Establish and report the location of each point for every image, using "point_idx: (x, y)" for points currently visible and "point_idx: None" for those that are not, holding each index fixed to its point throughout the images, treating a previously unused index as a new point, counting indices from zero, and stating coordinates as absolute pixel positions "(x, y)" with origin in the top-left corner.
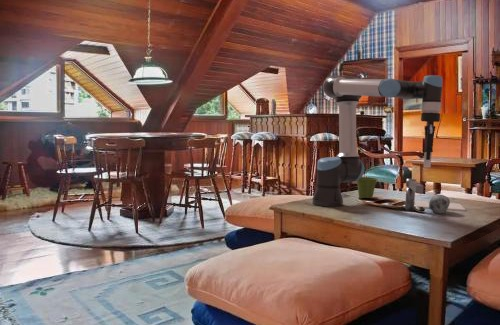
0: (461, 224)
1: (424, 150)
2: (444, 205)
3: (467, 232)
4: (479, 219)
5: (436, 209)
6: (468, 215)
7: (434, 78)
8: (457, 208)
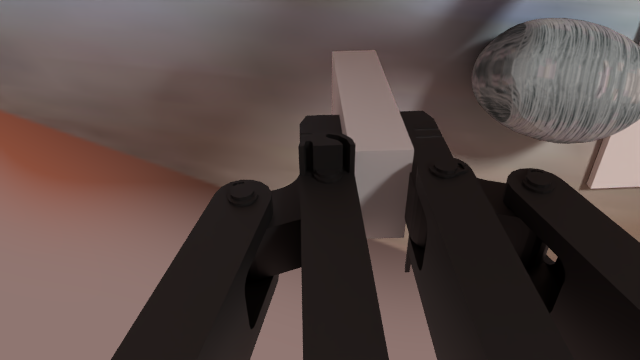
0: (243, 131)
1: (453, 163)
2: (482, 103)
3: (73, 134)
4: None
5: (481, 54)
6: None
7: None
8: (614, 159)
